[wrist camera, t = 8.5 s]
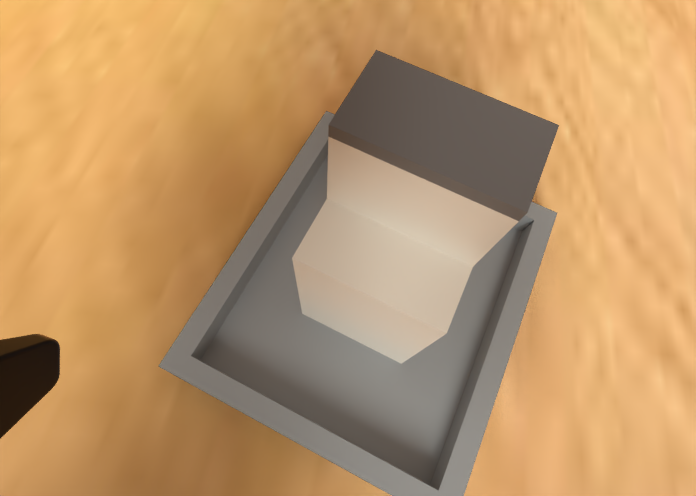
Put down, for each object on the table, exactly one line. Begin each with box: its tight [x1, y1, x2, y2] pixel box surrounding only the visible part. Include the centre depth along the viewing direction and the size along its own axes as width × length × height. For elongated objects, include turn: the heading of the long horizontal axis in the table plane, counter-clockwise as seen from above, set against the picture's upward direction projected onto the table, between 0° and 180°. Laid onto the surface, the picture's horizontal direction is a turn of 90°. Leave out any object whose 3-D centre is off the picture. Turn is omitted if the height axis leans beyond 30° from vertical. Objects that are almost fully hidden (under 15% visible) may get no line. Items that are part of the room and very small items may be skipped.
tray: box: [159, 111, 557, 496], centre depth 21 cm, size 16×14×2 cm
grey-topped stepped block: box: [292, 50, 559, 364], centre depth 16 cm, size 6×6×12 cm
